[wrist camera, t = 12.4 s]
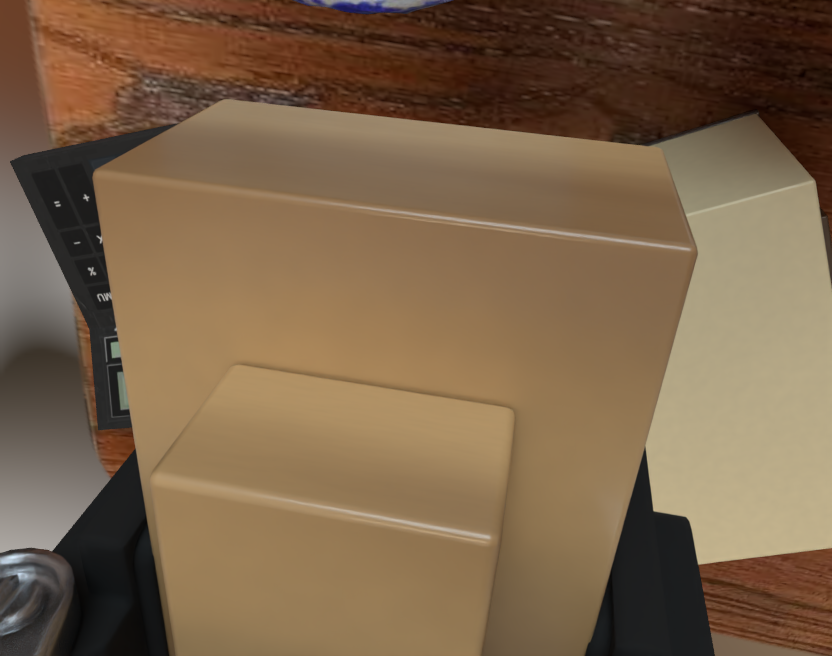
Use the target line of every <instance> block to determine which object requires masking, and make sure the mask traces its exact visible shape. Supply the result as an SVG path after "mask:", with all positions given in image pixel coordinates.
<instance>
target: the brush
mask: <svg viewBox="0 0 832 656" xmlns="http://www.w3.org/2000/svg"><path fill="white" fill-rule="evenodd" d="M93 185H94V191H95V197H96V203H97V210H98V216H99V222H100V228H101V235H102V241H103V247H104V253H105V260H106V266H107V272H108V278H109V285H110V291H111V297H112V303H113V310H114V316H115V322H116V329H117V335H118V341H119V347H120V354H121V360H122V366H123V372H124V379H125V385H126V391H127V397H128V404H129V410H130V416H131V422H132V429H133V435H134V441H135V447H136V454H137V460H138V466H139V472H140V479H141V485H142V491H143V497H144V504H145V510H146V516H147V522H148V529H149V535H150V541H151V547H152V554H153V556H154V561H155V568H156V574H157V580H158V587H159V593H160V600H161V606H162V612H163V619H164V625H165V631H166V638H167V644H168V651H169V656H585V653H586V649H587V646H588V643H589V642H590V641H591V639H592V636H593V634H594V630H595V627H596V623H597V619H598V616H599V612H600V608H601V605H602V601H603V597H604V594H605V590H606V587H607V583H608V579H609V576H610V572H611V568H612V565H613V561H614V557H615V554H616V550H617V547H618V543H619V539H620V536H621V532H622V528H623V525H624V521H625V518H626V514H627V510H628V507H629V503H630V499H631V496H632V492H633V488H634V485H635V481H636V478H637V474H638V470H639V467H640V463H641V459H642V456H643V452H644V448H645V445H646V441H647V438H648V434H649V430H650V427H651V423H652V419H653V416H654V412H655V408H656V405H657V401H658V398H659V394H660V390H661V387H662V383H663V379H664V376H665V372H666V368H667V365H668V361H669V358H670V354H671V350H672V347H673V343H674V339H675V336H676V332H677V328H678V325H679V321H680V318H681V314H682V310H683V307H684V303H685V299H686V296H687V292H688V288H689V285H690V281H691V278H692V274H693V270H694V267H695V263H696V259H697V256H698V251H697V246H696V243H695V240H694V237H693V234H692V232H691V229H690V226H689V223H688V220H687V217H686V214H685V212H684V209H683V206H682V203H681V200H680V197H679V195H678V192H677V189H676V186H675V183H674V180H673V177H672V175H671V172H670V169H669V166H668V163H667V160H666V158H665V155H664V152H663V150H662V149H660V148H658V147H649V146H640V145H631V144H623V143H614V142H605V141H596V140H587V139H578V138H569V137H560V136H551V135H542V134H533V133H524V132H515V131H506V130H497V129H489V128H480V127H471V126H462V125H453V124H444V123H435V122H426V121H417V120H408V119H399V118H390V117H381V116H372V115H364V114H355V113H346V112H337V111H328V110H319V109H310V108H301V107H292V106H283V105H274V104H265V103H256V102H247V101H238V100H230V99H224V100H221V101H219V102H217V103H216V104H214V105H212V106H210V107H208V108H206V109H205V110H203V111H201V112H199V113H197V114H195V115H194V116H192V117H190V118H188V119H186V120H185V121H183V122H181V123H179V124H177V125H175V126H174V127H172V128H170V129H168V130H166V131H165V132H163V133H161V134H159V135H157V136H155V137H154V138H152V139H150V140H148V141H146V142H145V143H143V144H141V145H139V146H137V147H135V148H134V149H132V150H130V151H128V152H126V153H125V154H123V155H121V156H119V157H117V158H115V159H114V160H112V161H110V162H108V163H106V164H104V165H103V166H101V167H99V168H97V169H95V171H94V173H93Z"/></svg>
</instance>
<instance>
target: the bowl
mask: <svg viewBox="0 0 832 656" xmlns="http://www.w3.org/2000/svg"><path fill="white" fill-rule="evenodd" d="M294 1H297V2H299V3H302V4H305V5H308V6H321V7H329V8H333V9H336V10H340V11H344V12H350V13H360V14H375V13H403V14H408V13H410V12H413V11H415V10H419V9H423V8H427V7H431V6H435V5H438V4H442V3H445V2H449V1H452V0H294Z"/></svg>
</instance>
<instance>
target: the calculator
mask: <svg viewBox="0 0 832 656" xmlns="http://www.w3.org/2000/svg"><path fill="white" fill-rule="evenodd" d="M178 124H179V123H178ZM175 125H177V124H173V125H168V126H163V127H158V128H153V129H149V130H144V131H139V132H134V133H129V134H124V135H120V136H115V137H110V138H105V139H100V140H95V141H91V142H86V143H81V144H76V145H71V146H66V147H61V148H57V149H52V150H47V151H42V152H38V153H33V154H28V155H24V156H21V157H19V158H17V159H15V160H12V161H10V163H11V165H12V167H13V169H14V171H15V173H16V175H17V178H18V180H19V182H20V184H21V186H22V188H23V190H24V192H25V194H26V196H27V199H28V200H29V203H30V205H31V207H32V209H33V211H34V213H35V215H36V217H37V219H38V222H39V224H40V226H41V228H42V230H43V232H44V234H45V236H46V238H47V240H48V243H49V245H50V247H51V249H52V251H53V253H54V255H55V257H56V260H57V261H58V263H59V266H60V267H61V270H62V272H63V274H64V276H65V278H66V281H67V283H68V285H69V287H70V289H71V291H72V293H73V295H74V297H75V299H76V302H77V304H78V306H79V308H80V310H81V312H82V314H83V316H84V318H85V320H86V323H87V325H88V327H89V330H90V341H91V353H92V364H93V376H94V387H95V398H96V410H97V421H98V430H106V429H118V428H130V427H132V422H131V416H130V410H129V404H128V397H127V391H126V385H125V379H124V372H123V366H122V360H121V354H120V347H119V341H118V335H117V329H116V322H115V316H114V310H113V303H112V297H111V291H110V285H109V278H108V272H107V266H106V260H105V253H104V247H103V241H102V235H101V228H100V222H99V216H98V210H97V203H96V197H95V191H94V185H93V173H94V171H95V169H97V168H99V167H101V166H103V165H104V164H106V163H108V162H110V161H112V160H114V159H115V158H117V157H119V156H121V155H123V154H125V153H126V152H128V151H130V150H132V149H134V148H135V147H137V146H139V145H141V144H143V143H145V142H146V141H148V140H150V139H152V138H154V137H155V136H157V135H159V134H161V133H163V132H165V131H166V130H168V129H170V128H172V127H174V126H175Z"/></svg>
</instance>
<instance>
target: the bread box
mask: <svg viewBox="0 0 832 656" xmlns="http://www.w3.org/2000/svg"><path fill="white" fill-rule="evenodd" d="M640 146H649V147H658V148H660V149H662V150H663V152H664V155H665V158H666V160H667V163H668V166H669V169H670V172H671V175H672V177H673V180H674V183H675V186H676V189H677V192H678V195H679V197H680V200H681V203H682V206H683V209H684V212H685V214H686V217H687V220H688V223H689V226H690V229H691V232H692V234H693V237H694V240H695V243H696V246H697V251H698V256H697V259H696V263H695V267H694V270H693V274H692V278H691V281H690V285H689V288H688V292H687V296H686V299H685V303H684V307H683V310H682V314H681V318H680V321H679V325H678V328H677V332H676V336H675V339H674V343H673V347H672V350H671V354H670V358H669V361H668V365H667V368H666V372H665V376H664V379H663V383H662V387H661V390H660V394H659V398H658V401H657V405H656V408H655V412H654V416H653V419H652V423H651V427H650V430H649V434H648V438H647V441H646V445H645V447H646V455H647V463H648V471H649V479H650V487H651V495H652V503H653V511H655V512H661V513H667V514H672V515H678V516H684V517H686V518H687V519H688V520H689V522H690V525H691V529H692V534H693V539H694V545H695V550H696V556H697V561H698V564H706V563H715V562H723V561H731V560H739V559H747V558H755V557H763V556H771V555H779V554H787V553H795V552H803V551H811V550H820V549H828V548H832V242H831V235H830V228H829V222H828V216H827V215H826V214H825V212H824V211H823V210H822V209H821V208H820V206H819V200H818V194H817V187H816V181H815V180H814V179H813V178H812V177H811V175H810V174H809V173H808V172H807V171H806V170H805V169H804V167H803V166H802V165H801V164H800V163H799V162H798V161H797V159H796V158H795V157H794V156H793V155H792V154H791V153H790V151H789V150H788V149H787V148H786V147H785V146H784V145H783V143H782V142H781V141H780V140H779V139H778V138H777V137H776V135H775V134H774V133H773V132H772V131H771V130H770V129H769V127H768V126H767V125H766V124H765V123H764V122H763V121H762V119H761V118H760V115H759V111H758V110H753V111H750V112H746V113H743V114H740V115H737V116H733V117H730V118H727V119H723V120H720V121H717V122H714V123H710V124H707V125H704V126H701V127H697V128H694V129H691V130H688V131H684V132H681V133H678V134H674V135H671V136H668V137H665V138H661V139H658V140H655V141H652V142H648V143H645V144H642V145H640Z"/></svg>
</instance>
